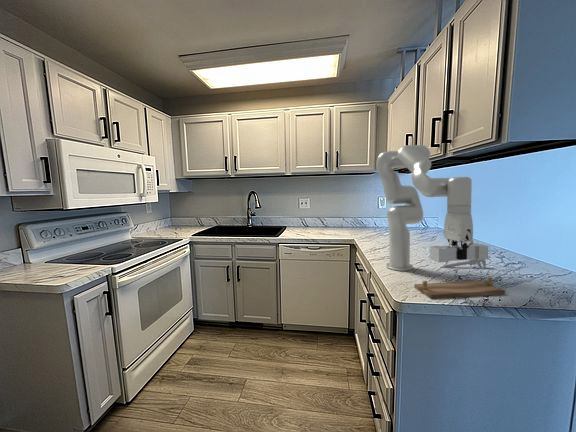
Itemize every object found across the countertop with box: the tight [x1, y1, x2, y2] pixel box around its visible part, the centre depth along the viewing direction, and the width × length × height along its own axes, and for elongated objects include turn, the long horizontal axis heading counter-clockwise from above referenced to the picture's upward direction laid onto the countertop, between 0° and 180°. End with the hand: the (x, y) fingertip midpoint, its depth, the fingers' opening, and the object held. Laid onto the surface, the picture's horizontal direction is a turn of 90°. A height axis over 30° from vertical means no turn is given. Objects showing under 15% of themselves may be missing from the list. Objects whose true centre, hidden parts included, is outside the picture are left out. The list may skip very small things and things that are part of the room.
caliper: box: [440, 259, 487, 269], centre depth 129 cm, size 20×1×6 cm, turn 83°
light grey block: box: [429, 242, 489, 263], centre depth 98 cm, size 6×19×5 cm, turn 93°
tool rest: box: [413, 276, 506, 300], centre depth 100 cm, size 11×28×4 cm, turn 93°
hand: (458, 257), depth 99 cm, fingers closed on light grey block, 3 cm apart
